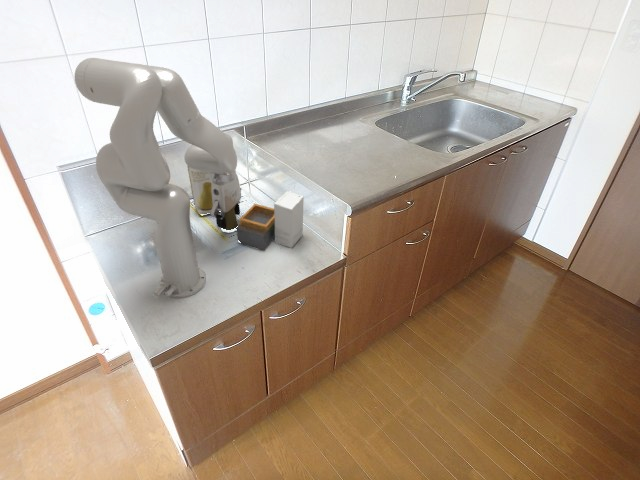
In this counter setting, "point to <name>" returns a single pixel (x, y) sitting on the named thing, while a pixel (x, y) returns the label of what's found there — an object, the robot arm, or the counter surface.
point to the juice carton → (201, 190)
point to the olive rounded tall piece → (230, 219)
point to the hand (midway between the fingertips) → (228, 220)
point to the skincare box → (288, 219)
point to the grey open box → (257, 227)
